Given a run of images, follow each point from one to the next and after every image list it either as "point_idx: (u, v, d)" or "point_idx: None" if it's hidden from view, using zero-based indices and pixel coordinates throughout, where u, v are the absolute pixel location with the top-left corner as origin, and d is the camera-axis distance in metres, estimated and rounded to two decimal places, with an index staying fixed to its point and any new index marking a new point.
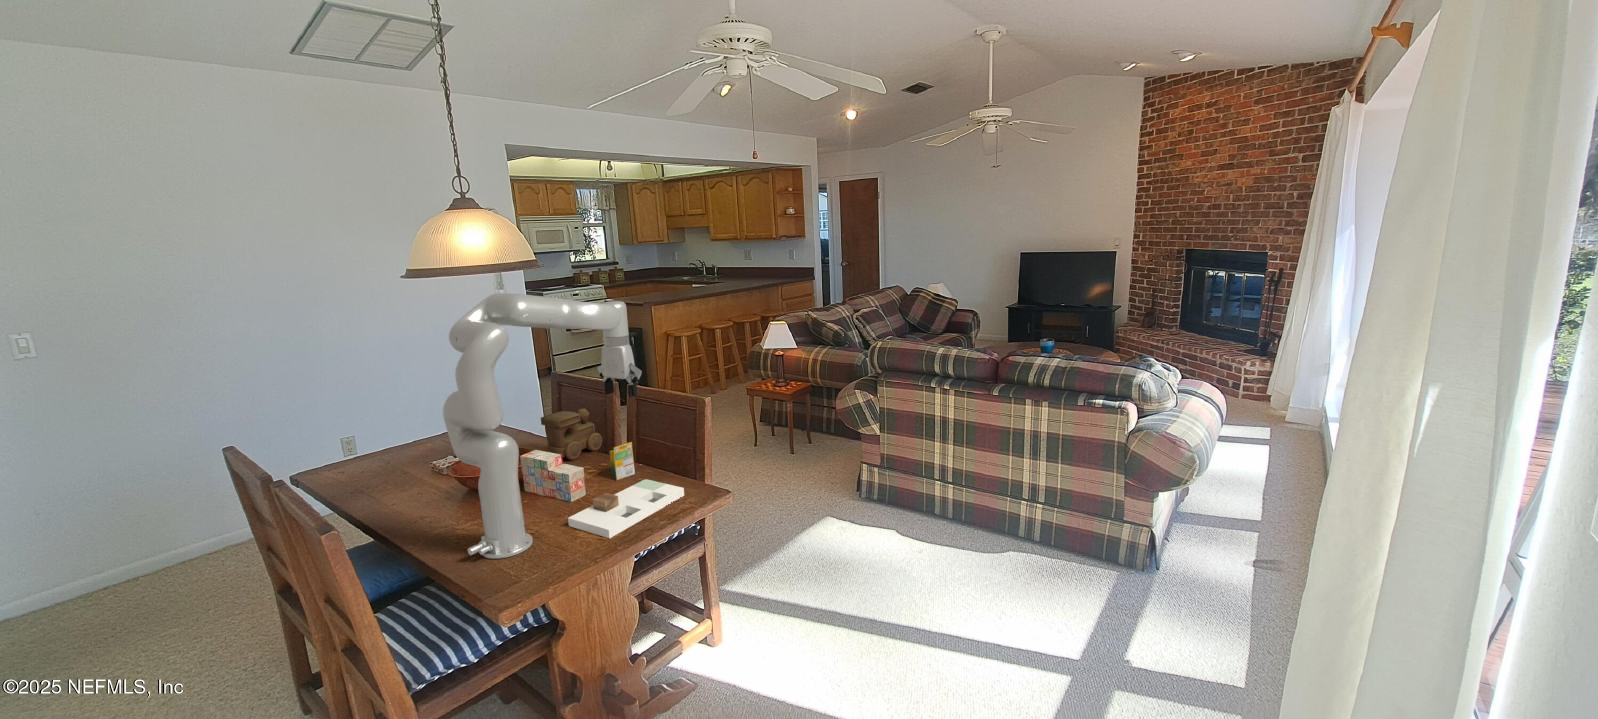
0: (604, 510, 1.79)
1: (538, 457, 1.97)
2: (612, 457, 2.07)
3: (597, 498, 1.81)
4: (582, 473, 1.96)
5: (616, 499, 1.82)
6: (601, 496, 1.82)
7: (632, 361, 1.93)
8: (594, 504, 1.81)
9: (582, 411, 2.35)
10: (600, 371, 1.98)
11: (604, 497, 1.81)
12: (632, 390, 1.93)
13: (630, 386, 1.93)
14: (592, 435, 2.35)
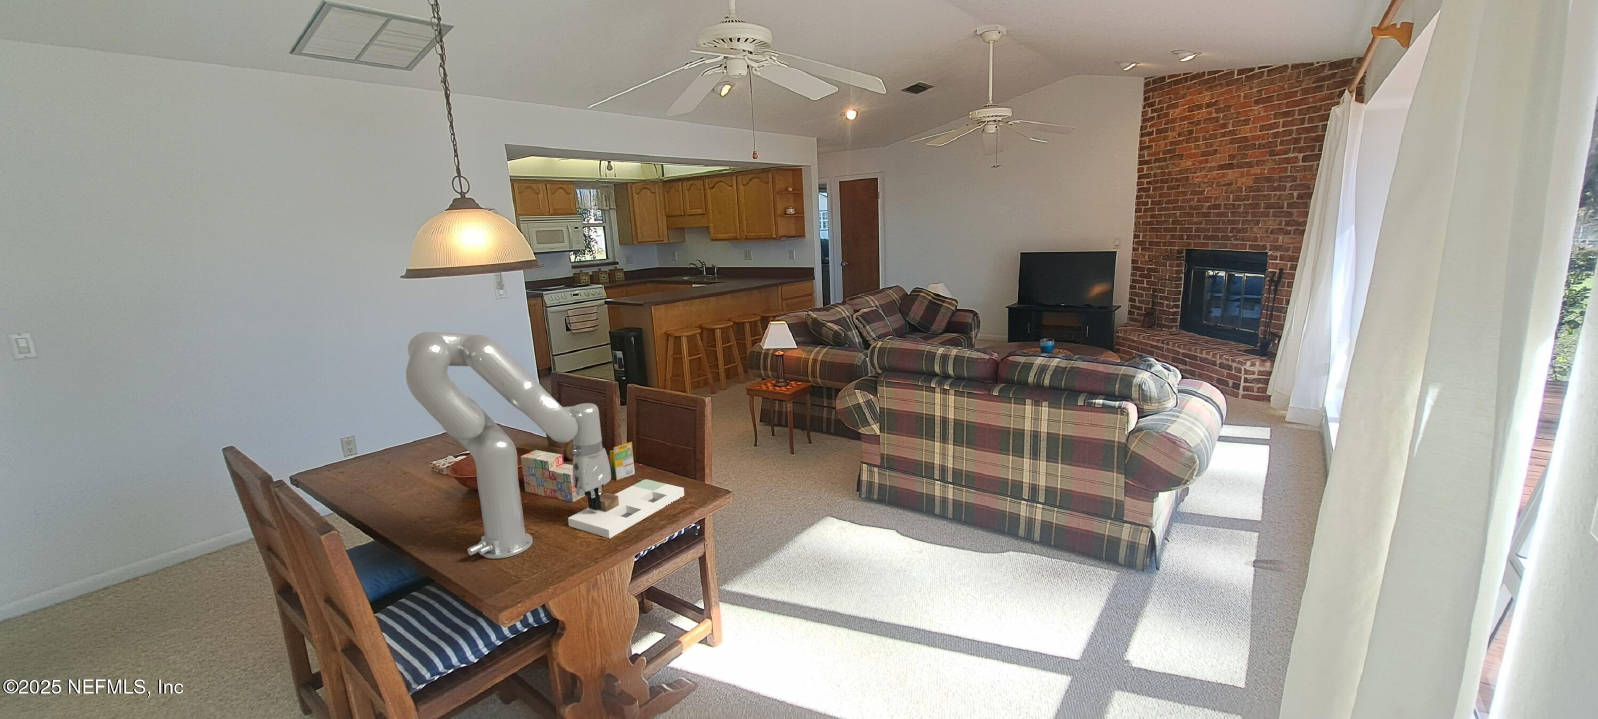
0: (604, 510, 1.79)
1: (539, 457, 1.97)
2: (612, 457, 2.07)
3: None
4: None
5: (616, 499, 1.82)
6: (601, 496, 1.82)
7: None
8: None
9: None
10: (583, 492, 1.74)
11: (604, 497, 1.82)
12: None
13: None
14: None
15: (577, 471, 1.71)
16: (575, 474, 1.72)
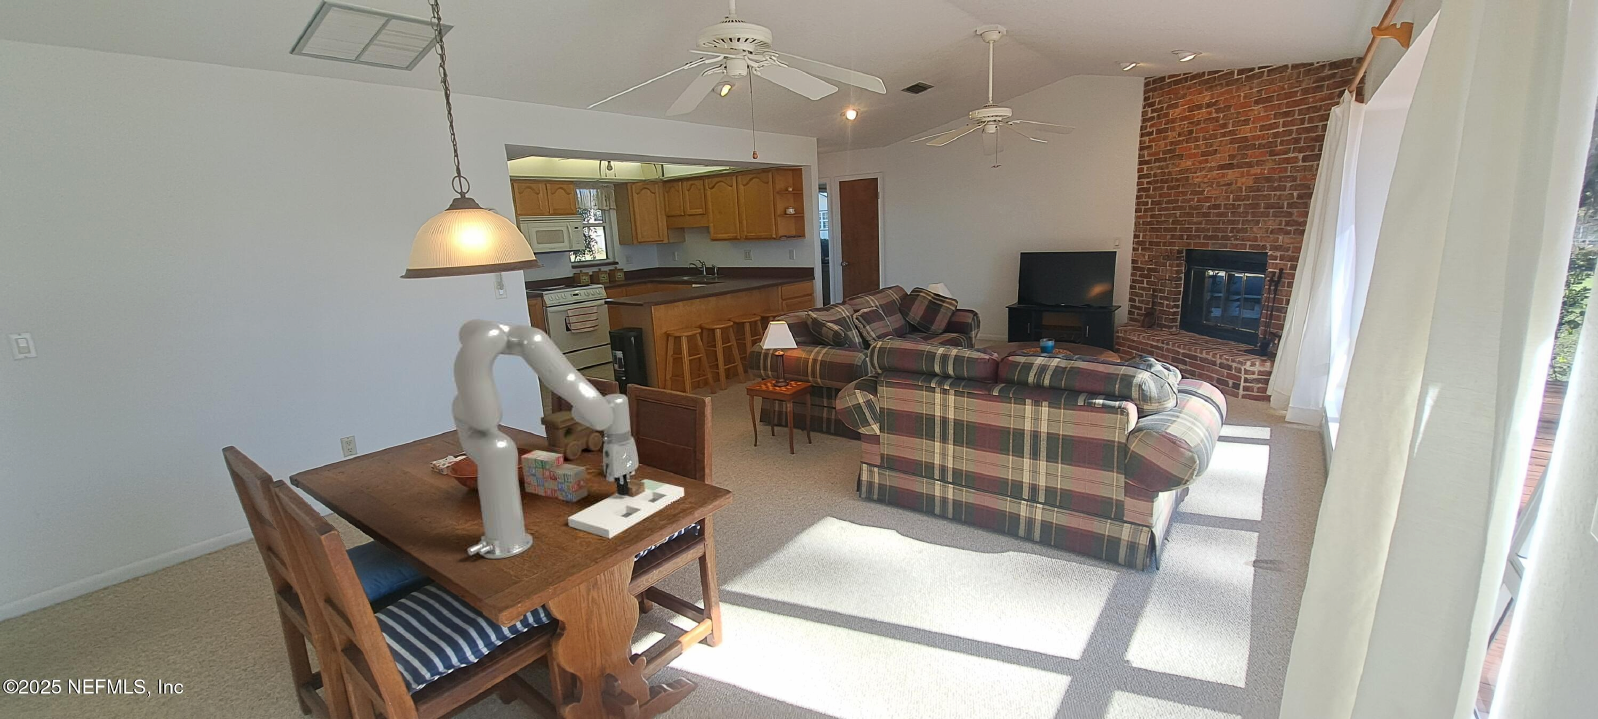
0: (631, 496, 1.89)
1: (539, 457, 1.97)
2: None
3: None
4: (584, 473, 1.96)
5: (643, 485, 1.92)
6: (628, 483, 1.92)
7: None
8: None
9: None
10: (613, 478, 1.83)
11: (631, 484, 1.91)
12: None
13: None
14: (592, 435, 2.35)
15: (607, 458, 1.81)
16: (605, 460, 1.81)
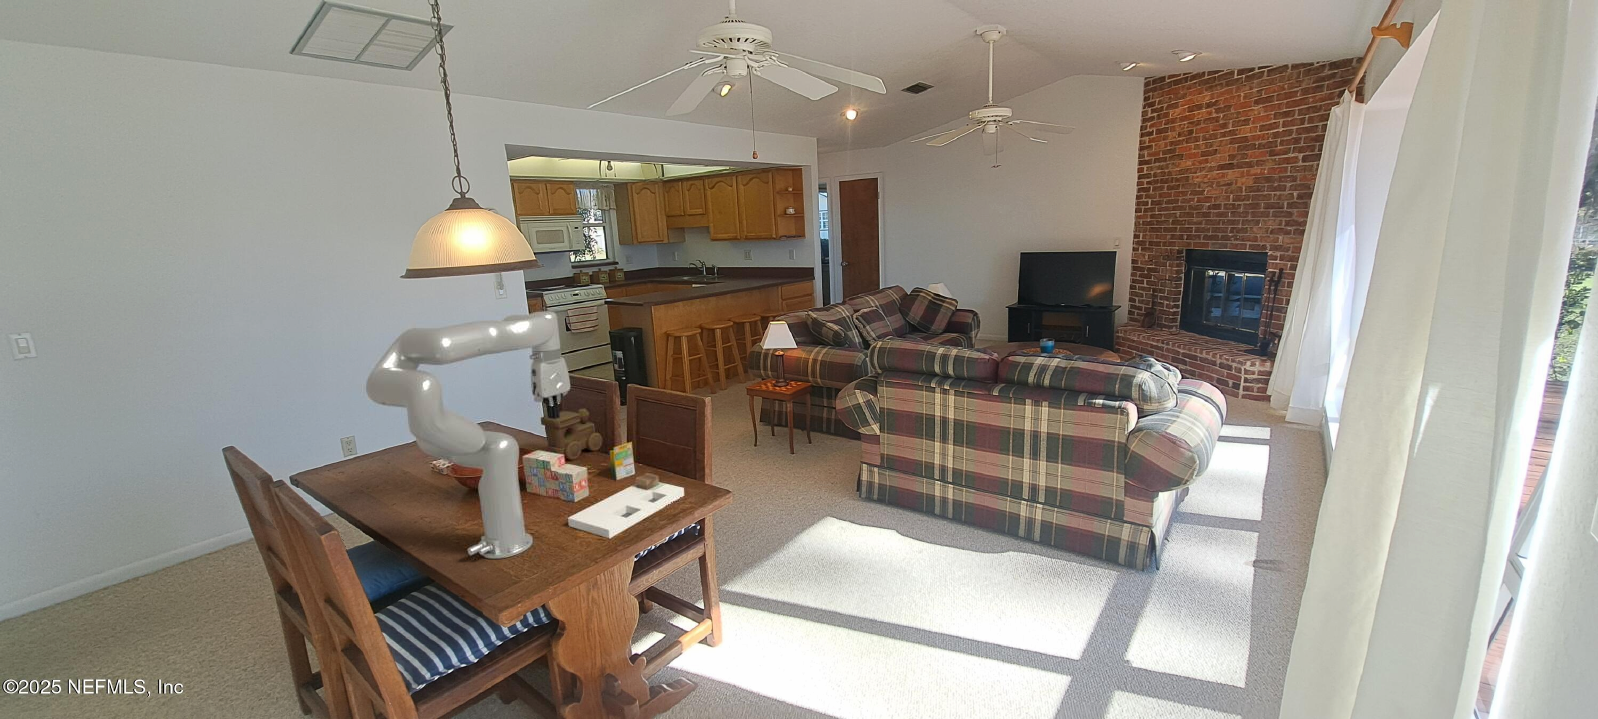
0: (645, 489, 1.94)
1: (541, 457, 1.97)
2: (612, 457, 2.07)
3: (639, 477, 1.96)
4: (585, 473, 1.95)
5: (656, 479, 1.97)
6: (642, 476, 1.97)
7: None
8: (636, 483, 1.95)
9: (582, 411, 2.35)
10: (542, 399, 1.75)
11: (645, 477, 1.96)
12: None
13: None
14: (592, 435, 2.35)
15: (535, 377, 1.73)
16: (533, 380, 1.74)
